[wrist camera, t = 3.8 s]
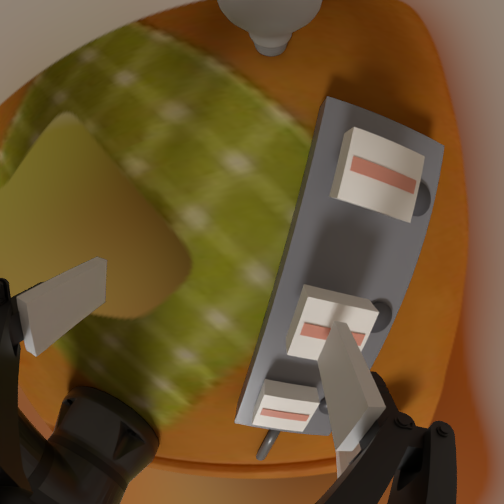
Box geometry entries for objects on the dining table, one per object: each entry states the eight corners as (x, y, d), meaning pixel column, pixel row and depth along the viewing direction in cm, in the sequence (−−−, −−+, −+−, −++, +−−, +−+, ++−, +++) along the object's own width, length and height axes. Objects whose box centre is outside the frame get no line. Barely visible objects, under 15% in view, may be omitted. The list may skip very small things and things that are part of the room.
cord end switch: (253, 409, 22) (251, 425, 20) (264, 378, 21) (264, 395, 19) (301, 416, 22) (302, 432, 20) (316, 387, 21) (319, 403, 19)
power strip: (222, 448, 28) (218, 467, 25) (319, 107, 19) (327, 94, 16) (295, 459, 28) (296, 477, 25) (425, 149, 19) (446, 145, 15)
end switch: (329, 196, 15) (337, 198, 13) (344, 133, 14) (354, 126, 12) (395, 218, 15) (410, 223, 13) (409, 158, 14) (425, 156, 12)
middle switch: (285, 338, 18) (286, 355, 16) (303, 284, 17) (307, 297, 15) (347, 349, 17) (354, 366, 15) (368, 299, 17) (379, 312, 15)
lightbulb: (272, 91, 19) (272, 14, 8) (218, 51, 18) (183, -29, 7) (322, 51, 17) (353, -30, 7) (268, 13, 17) (265, -71, 6)
